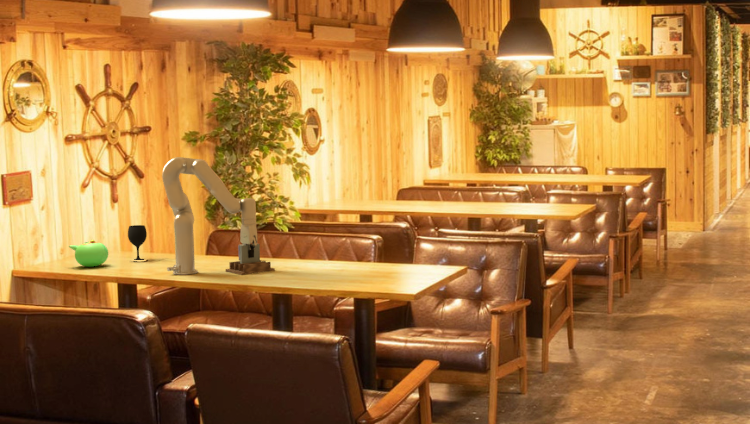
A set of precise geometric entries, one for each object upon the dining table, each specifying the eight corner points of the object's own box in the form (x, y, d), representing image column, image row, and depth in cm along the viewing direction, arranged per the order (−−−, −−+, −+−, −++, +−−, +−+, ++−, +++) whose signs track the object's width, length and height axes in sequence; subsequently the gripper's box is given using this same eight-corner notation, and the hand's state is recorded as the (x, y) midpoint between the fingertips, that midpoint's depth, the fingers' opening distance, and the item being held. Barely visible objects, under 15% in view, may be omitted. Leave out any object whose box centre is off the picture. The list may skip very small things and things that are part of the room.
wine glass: (127, 260, 545) (125, 225, 544) (145, 259, 550) (144, 224, 548) (130, 262, 536) (129, 227, 534) (149, 261, 540) (148, 226, 538)
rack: (241, 274, 486) (241, 265, 485) (225, 271, 498) (225, 262, 497) (274, 270, 498) (274, 261, 498) (258, 267, 511) (257, 258, 510)
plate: (242, 268, 494) (241, 245, 493) (240, 268, 495) (239, 245, 494) (260, 266, 501) (259, 243, 500) (257, 266, 502) (257, 243, 501)
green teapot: (87, 270, 510) (86, 242, 509) (68, 267, 521) (67, 240, 519) (114, 265, 525) (113, 239, 523) (95, 263, 535) (94, 237, 534)
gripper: (234, 221, 499) (235, 256, 501) (250, 223, 487) (251, 259, 489) (246, 220, 504) (247, 255, 506) (263, 222, 492) (264, 257, 494)
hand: (249, 256), depth 497 cm, fingers closed on plate, 2 cm apart
